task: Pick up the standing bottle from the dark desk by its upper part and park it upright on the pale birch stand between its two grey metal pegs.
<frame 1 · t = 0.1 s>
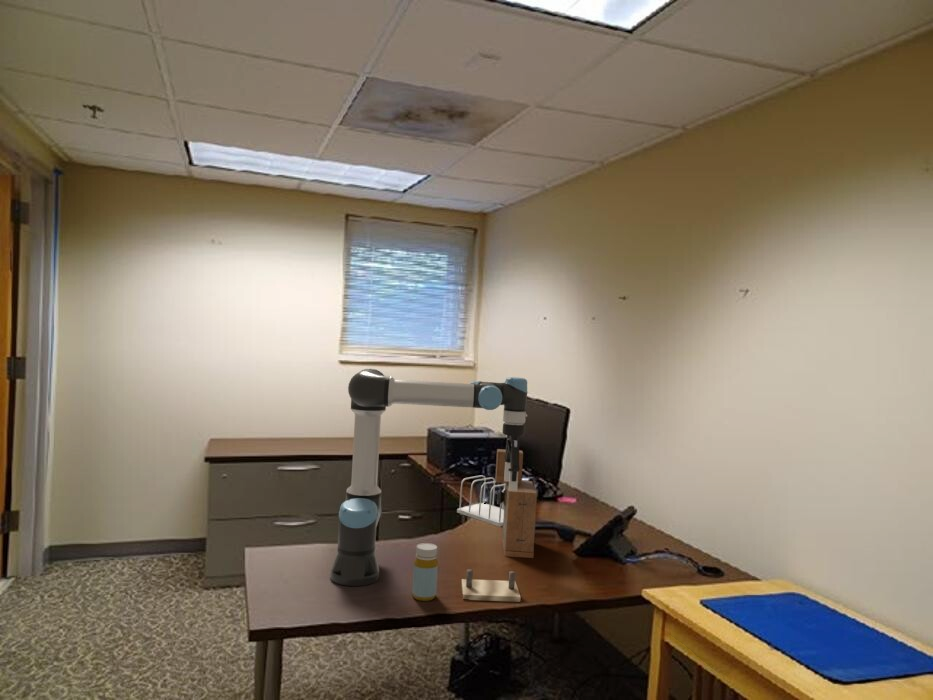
hand: (510, 485, 214), 28 cm above the table, fingers open, 13 cm apart
file sorter: (490, 517, 277), on the table
bottle: (424, 597, 187), on the table
peg stand: (489, 592, 193), on the table
tan tall stacked block: (514, 547, 237), on the table
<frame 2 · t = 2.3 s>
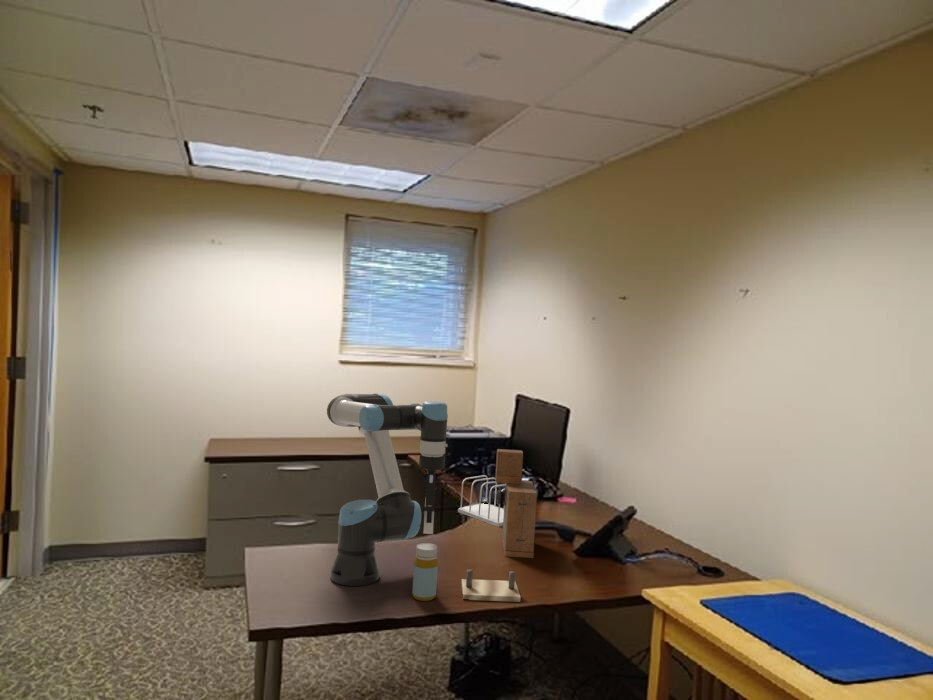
hand: (428, 526, 187), 21 cm above the table, fingers open, 13 cm apart
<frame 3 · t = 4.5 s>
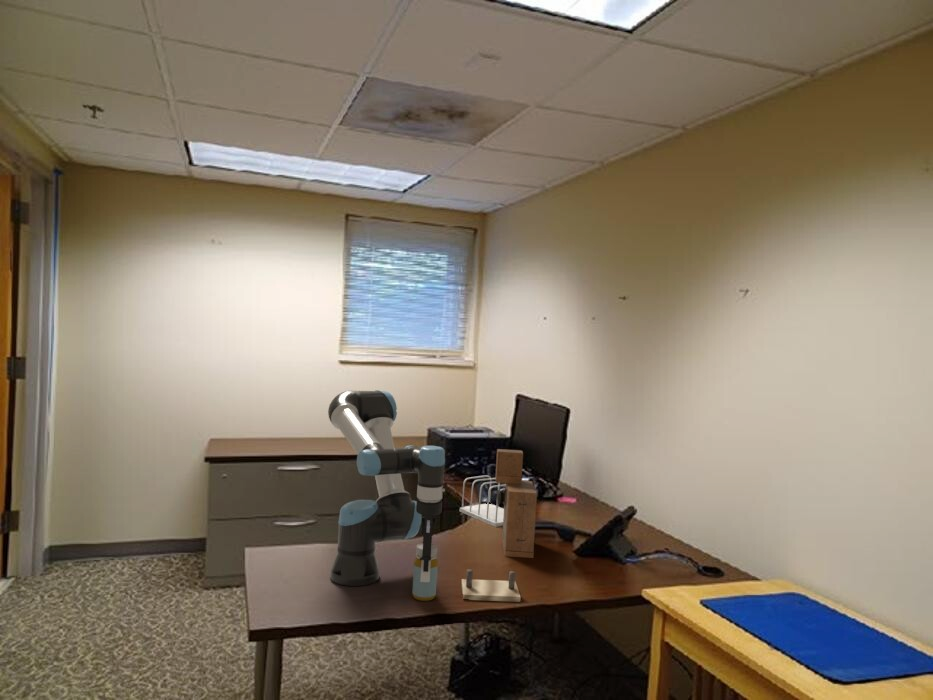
hand: (425, 576, 187), 6 cm above the table, fingers closed on bottle, 7 cm apart
bottle: (423, 597, 187), on the table, touching gripper
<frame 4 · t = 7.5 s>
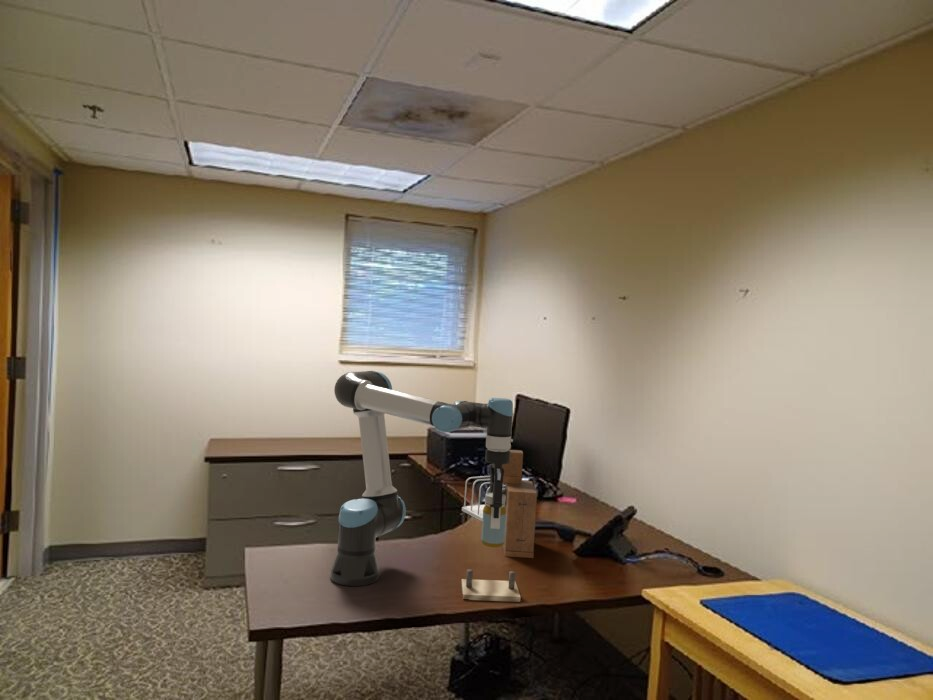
hand: (493, 524, 193), 21 cm above the table, fingers closed on bottle, 7 cm apart
bottle: (492, 544, 193), point 15 cm above the table, touching gripper
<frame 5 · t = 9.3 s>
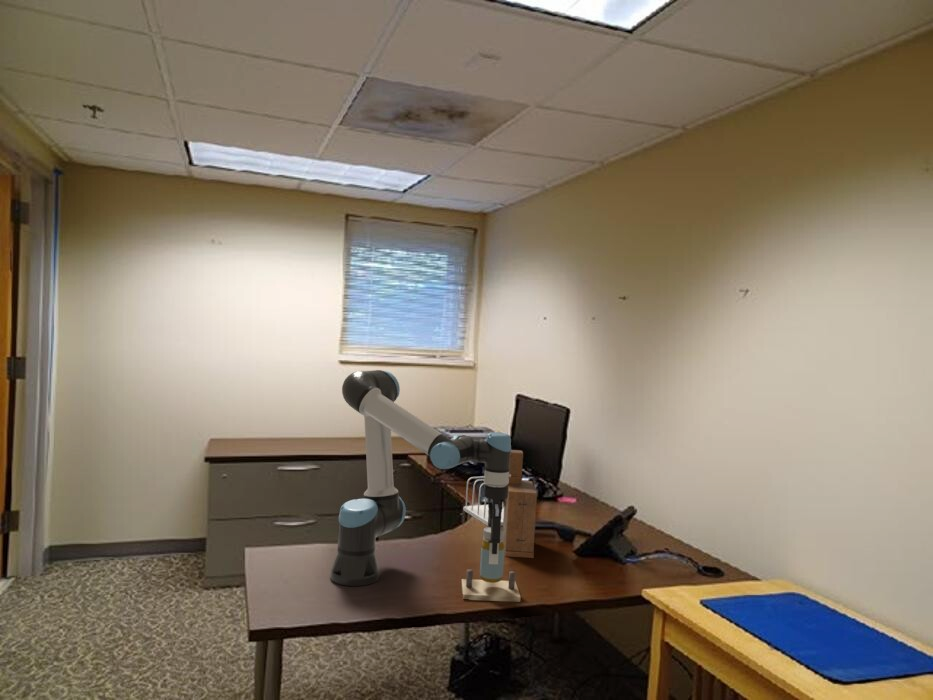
hand: (492, 559, 193), 10 cm above the table, fingers closed on bottle, 7 cm apart
bottle: (491, 579, 193), point 4 cm above the table, touching gripper
when the fingers open (8 cm above the table, at t = 10.5 s): bottle stays where it is, resting on peg stand.
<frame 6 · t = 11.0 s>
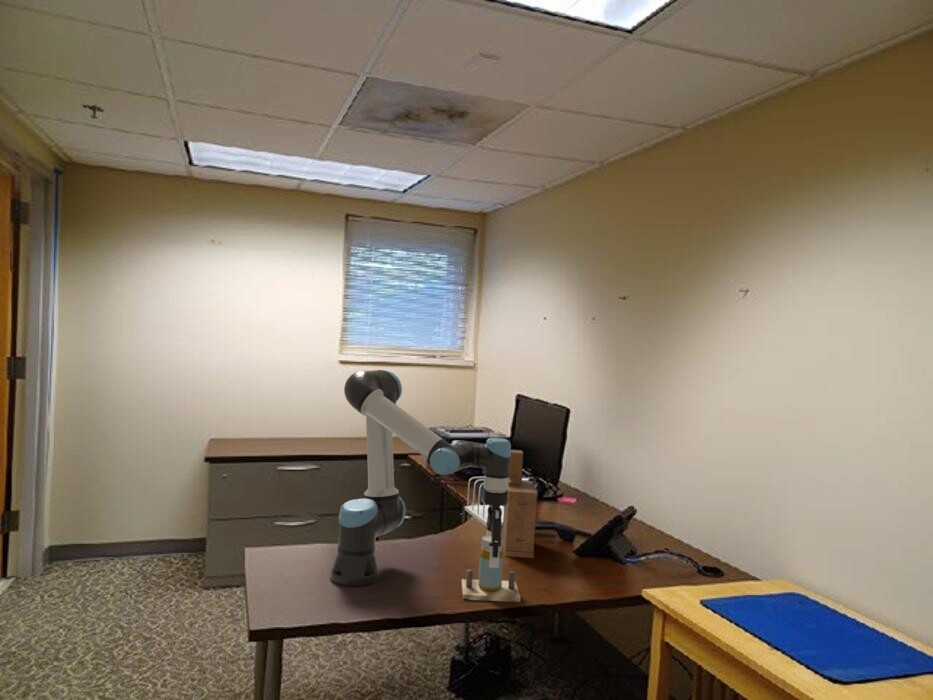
hand: (491, 559, 193), 10 cm above the table, fingers open, 13 cm apart
bottle: (489, 588, 193), point 1 cm above the table, touching peg stand
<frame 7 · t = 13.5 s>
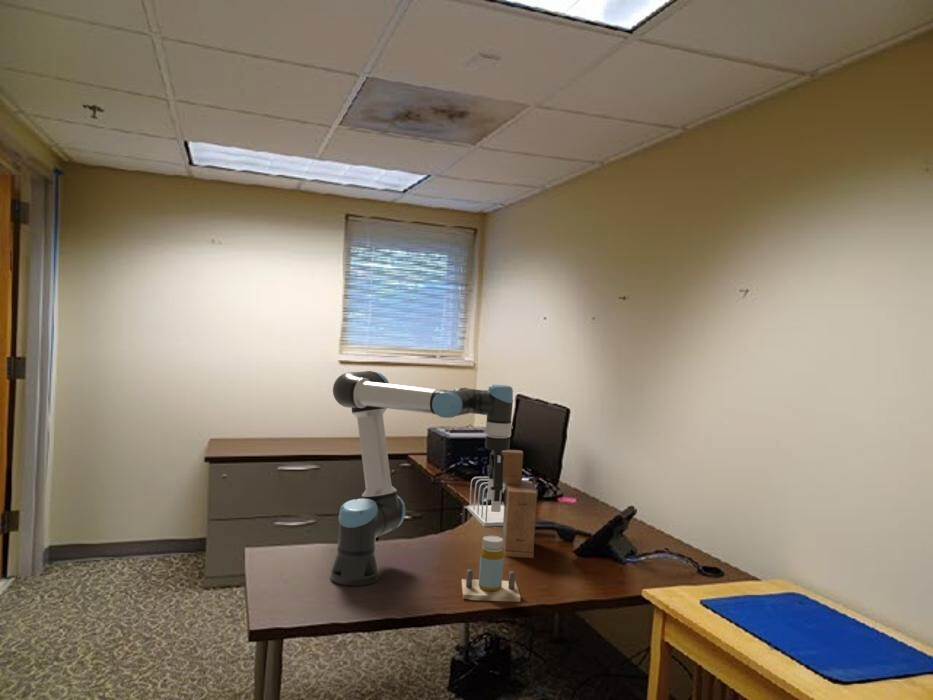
hand: (493, 505, 193), 27 cm above the table, fingers open, 13 cm apart
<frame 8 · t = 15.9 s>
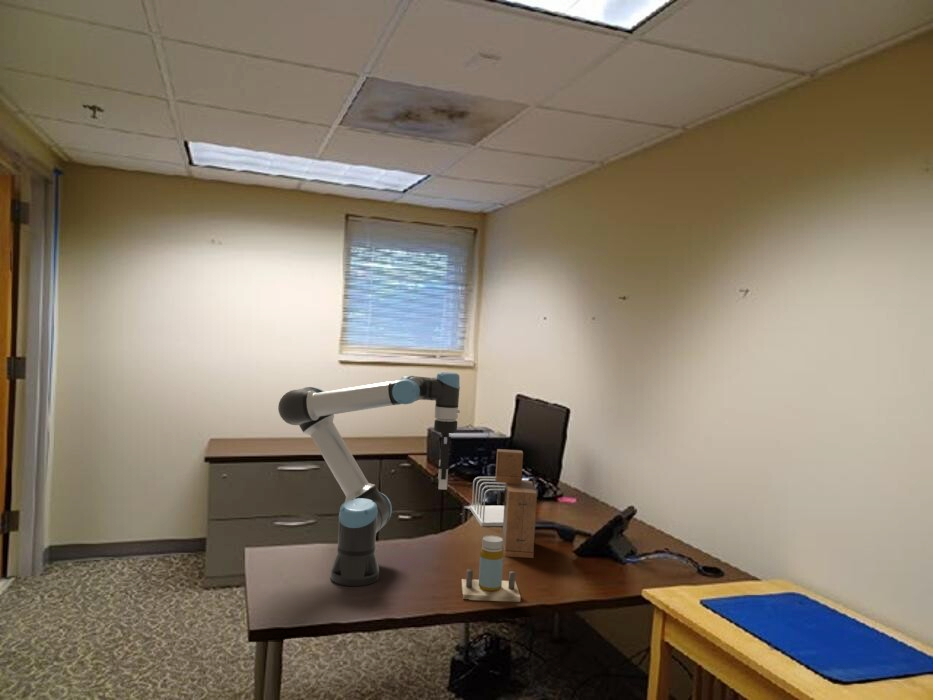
hand: (442, 484, 208), 29 cm above the table, fingers open, 13 cm apart
at the end: bottle inside the target area on the peg stand (0.1 cm from its centre), point 1.3 cm above the peg stand's base; bottle tilted 0°; the gripper is holding nothing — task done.
